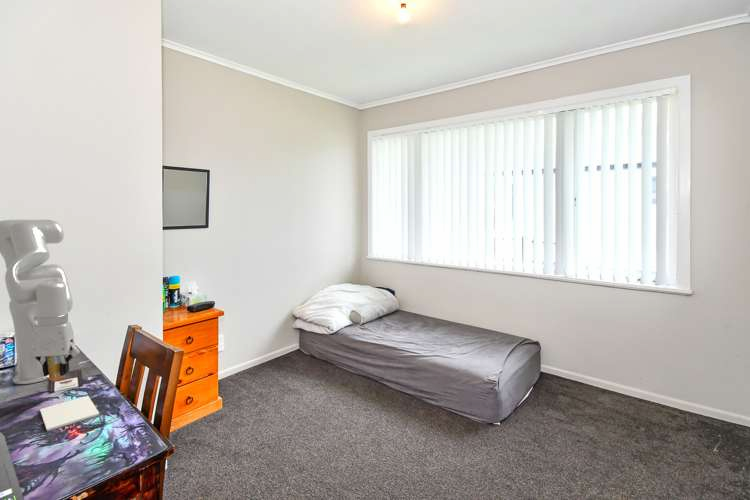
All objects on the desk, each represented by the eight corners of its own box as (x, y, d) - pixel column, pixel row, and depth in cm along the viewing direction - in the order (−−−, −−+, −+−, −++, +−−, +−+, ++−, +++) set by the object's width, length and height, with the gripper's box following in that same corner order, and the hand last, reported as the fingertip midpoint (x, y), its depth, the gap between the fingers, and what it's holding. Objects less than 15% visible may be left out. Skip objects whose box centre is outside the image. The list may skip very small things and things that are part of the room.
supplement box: (47, 380, 123) (45, 350, 122) (59, 376, 127) (57, 347, 125) (53, 382, 122) (51, 352, 121) (65, 377, 125) (64, 348, 124)
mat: (40, 410, 116) (39, 409, 116) (88, 397, 125) (88, 395, 125) (47, 431, 105) (46, 429, 105) (99, 415, 114) (99, 413, 114)
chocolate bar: (81, 368, 147) (82, 384, 133) (81, 371, 147) (83, 387, 133) (50, 374, 141) (49, 392, 127) (50, 377, 141) (49, 394, 127)
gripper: (14, 323, 117) (18, 380, 119) (74, 323, 120) (77, 378, 122) (32, 316, 125) (36, 370, 127) (88, 316, 127) (91, 368, 129)
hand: (56, 373), depth 124 cm, fingers closed on supplement box, 4 cm apart
